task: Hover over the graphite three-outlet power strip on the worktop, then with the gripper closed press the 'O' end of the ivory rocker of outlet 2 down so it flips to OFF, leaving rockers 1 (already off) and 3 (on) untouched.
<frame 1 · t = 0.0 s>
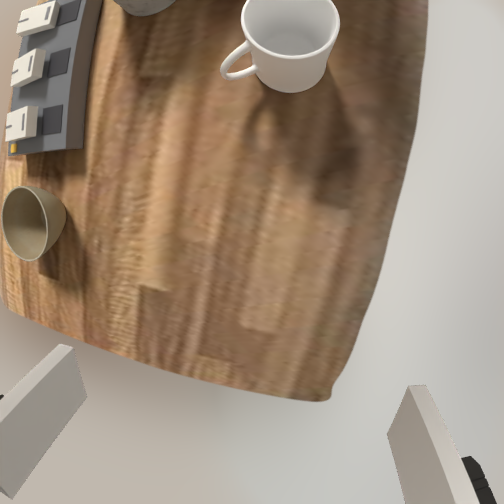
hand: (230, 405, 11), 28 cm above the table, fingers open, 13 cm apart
rocker 1: (37, 18, 26), point 6 cm above the table, hinge at -12.0°
rocker 3: (20, 124, 31), point 6 cm above the table, hinge at 12.0°
mug: (276, 65, 32), on the table
power strip: (58, 72, 34), on the table
flower pot: (54, 214, 40), on the table
rocker 2: (27, 68, 29), point 6 cm above the table, hinge at 12.0°
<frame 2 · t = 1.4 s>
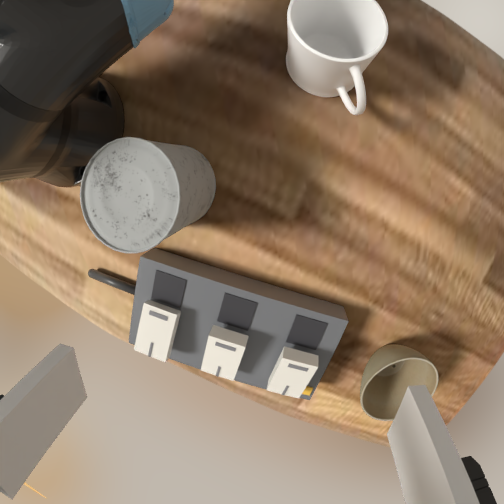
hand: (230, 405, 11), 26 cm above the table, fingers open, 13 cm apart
rocker 1: (156, 331, 35), point 6 cm above the table, hinge at -12.0°
rocker 3: (291, 374, 34), point 6 cm above the table, hinge at 12.0°
mug: (327, 76, 31), on the table
power strip: (234, 320, 39), on the table
flower pot: (386, 359, 39), on the table
grey concrete cylinder: (176, 185, 36), on the table
rocker 2: (223, 354, 34), point 6 cm above the table, hinge at 12.0°
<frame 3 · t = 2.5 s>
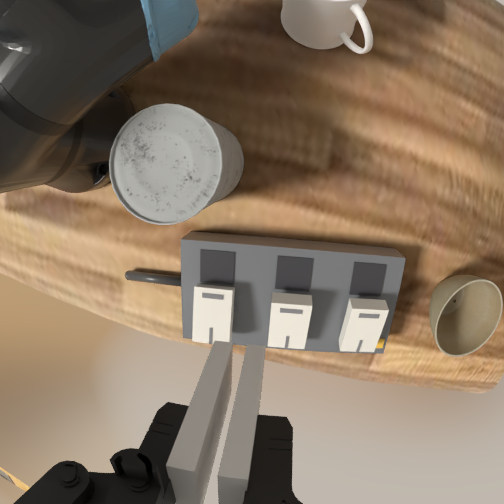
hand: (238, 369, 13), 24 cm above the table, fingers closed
rocker 1: (213, 314, 33), point 6 cm above the table, hinge at -12.0°
rocker 3: (362, 326, 32), point 6 cm above the table, hinge at 12.0°
mug: (324, 30, 29), on the table
power strip: (290, 288, 38), on the table
flower pot: (446, 295, 36), on the table
grey concrete cylinder: (202, 162, 35), on the table
rocker 2: (289, 322, 33), point 6 cm above the table, hinge at 12.0°
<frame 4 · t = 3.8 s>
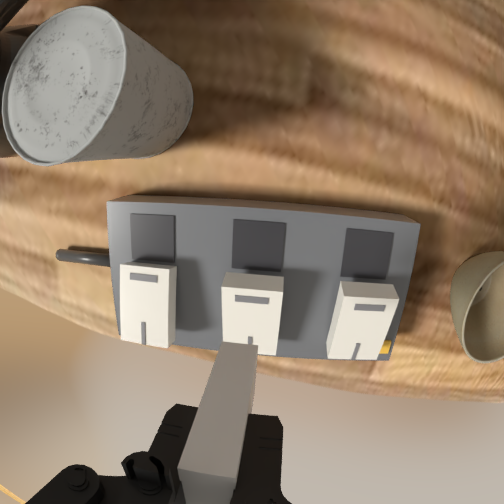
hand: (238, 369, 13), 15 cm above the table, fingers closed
rocker 1: (147, 304, 23), point 6 cm above the table, hinge at -12.0°
rocker 3: (360, 323, 22), point 6 cm above the table, hinge at 12.0°
power strip: (258, 270, 28), on the table
flower pot: (469, 281, 26), on the table
grey concrete cylinder: (142, 106, 25), on the table
rocker 2: (251, 316, 23), point 6 cm above the table, hinge at 12.0°
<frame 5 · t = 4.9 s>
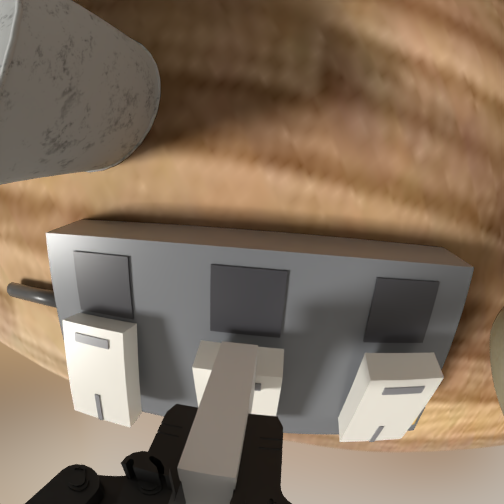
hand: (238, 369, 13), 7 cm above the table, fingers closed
rocker 1: (102, 370, 16), point 6 cm above the table, hinge at -12.0°
rocker 3: (386, 402, 15), point 6 cm above the table, hinge at 12.0°
power strip: (251, 321, 20), on the table
grey concrete cylinder: (97, 101, 17), on the table
rocker 2: (238, 396, 15), point 6 cm above the table, hinge at 12.0°, touching gripper
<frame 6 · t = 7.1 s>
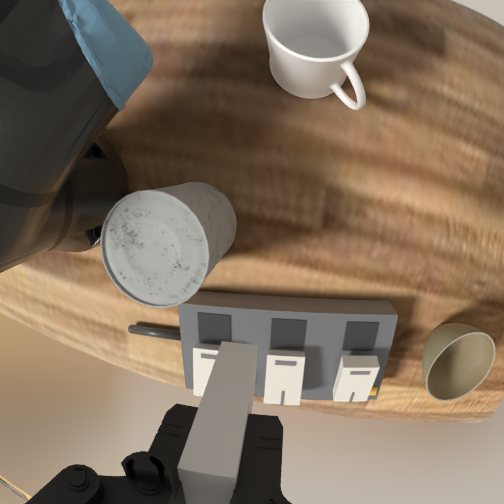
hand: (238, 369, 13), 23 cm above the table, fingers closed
rocker 1: (212, 371, 34), point 6 cm above the table, hinge at -12.0°
rocker 3: (354, 379, 32), point 6 cm above the table, hinge at 12.0°
mug: (316, 75, 30), on the table
power strip: (286, 341, 38), on the table
flower pot: (441, 339, 36), on the table
grey concrete cylinder: (195, 223, 36), on the table
rocker 2: (284, 378, 33), point 6 cm above the table, hinge at -12.0°
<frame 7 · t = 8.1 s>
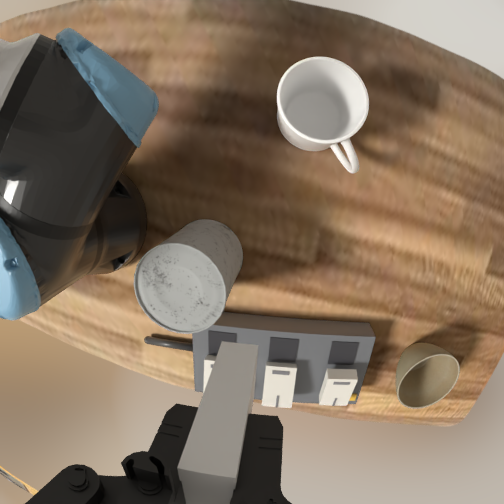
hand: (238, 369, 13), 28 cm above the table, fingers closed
rocker 1: (219, 378, 41), point 6 cm above the table, hinge at -12.0°
rocker 3: (337, 388, 39), point 6 cm above the table, hinge at 12.0°
mug: (317, 129, 36), on the table
power strip: (281, 353, 45), on the table
flower pot: (414, 355, 43), on the table
grey concrete cylinder: (207, 254, 42), on the table
rocker 2: (279, 385, 40), point 6 cm above the table, hinge at -16.2°, touching power strip
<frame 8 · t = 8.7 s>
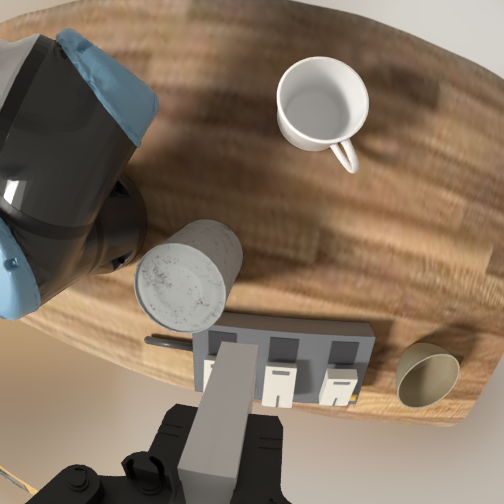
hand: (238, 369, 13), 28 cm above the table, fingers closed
rocker 1: (219, 378, 41), point 6 cm above the table, hinge at -12.0°
rocker 3: (337, 388, 39), point 6 cm above the table, hinge at 12.0°
mug: (317, 129, 36), on the table
power strip: (281, 353, 45), on the table
flower pot: (414, 355, 43), on the table
grey concrete cylinder: (207, 254, 42), on the table
rocker 2: (278, 385, 40), point 6 cm above the table, hinge at -14.4°, touching power strip
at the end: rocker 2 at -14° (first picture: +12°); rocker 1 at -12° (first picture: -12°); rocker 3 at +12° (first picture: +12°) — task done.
